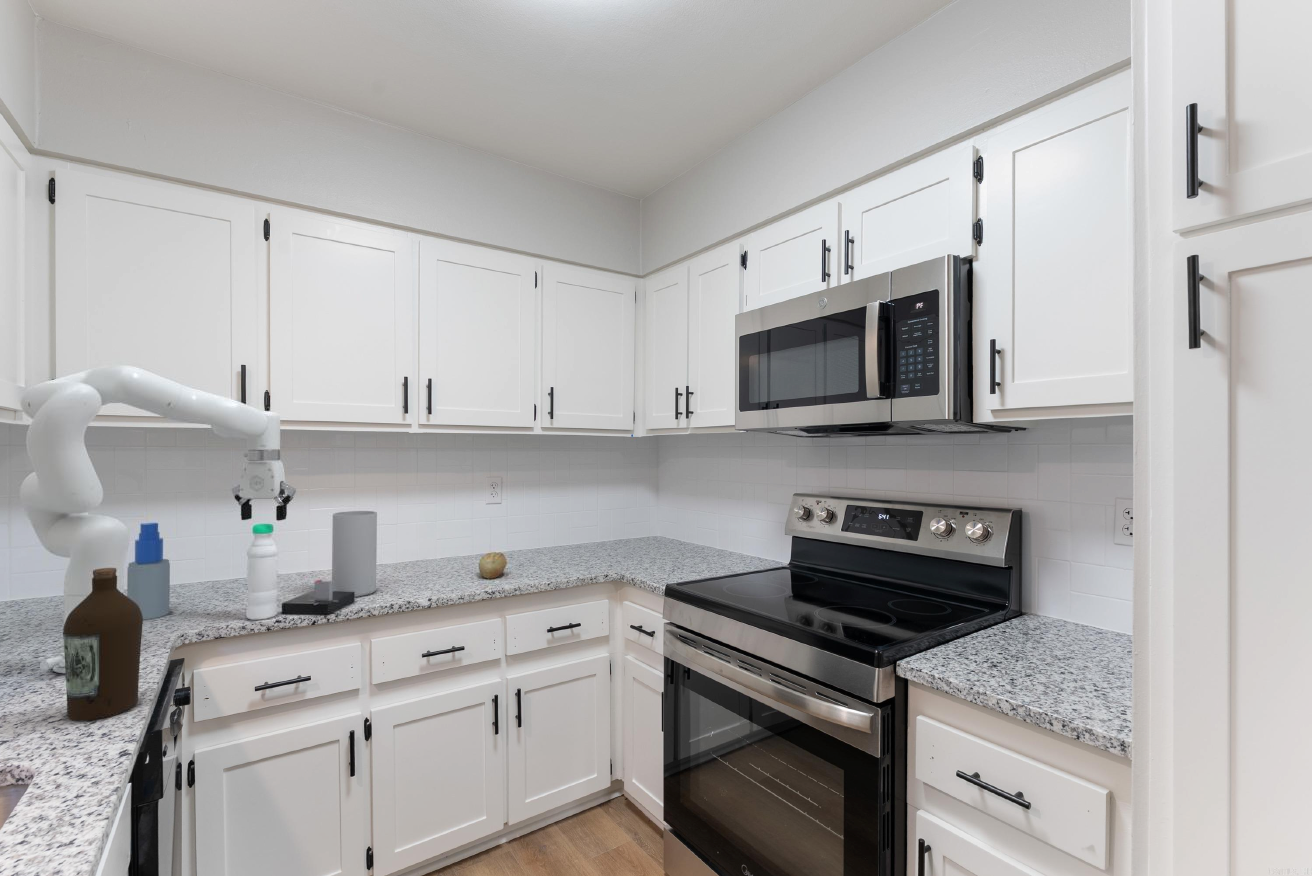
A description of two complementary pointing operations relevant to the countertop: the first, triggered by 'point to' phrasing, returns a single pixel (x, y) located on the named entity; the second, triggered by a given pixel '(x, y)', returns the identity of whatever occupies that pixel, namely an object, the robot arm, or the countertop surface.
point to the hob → (317, 603)
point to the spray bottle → (149, 574)
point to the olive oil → (102, 651)
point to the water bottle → (262, 574)
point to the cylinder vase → (354, 552)
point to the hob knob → (323, 591)
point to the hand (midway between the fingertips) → (263, 519)
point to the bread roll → (492, 565)
